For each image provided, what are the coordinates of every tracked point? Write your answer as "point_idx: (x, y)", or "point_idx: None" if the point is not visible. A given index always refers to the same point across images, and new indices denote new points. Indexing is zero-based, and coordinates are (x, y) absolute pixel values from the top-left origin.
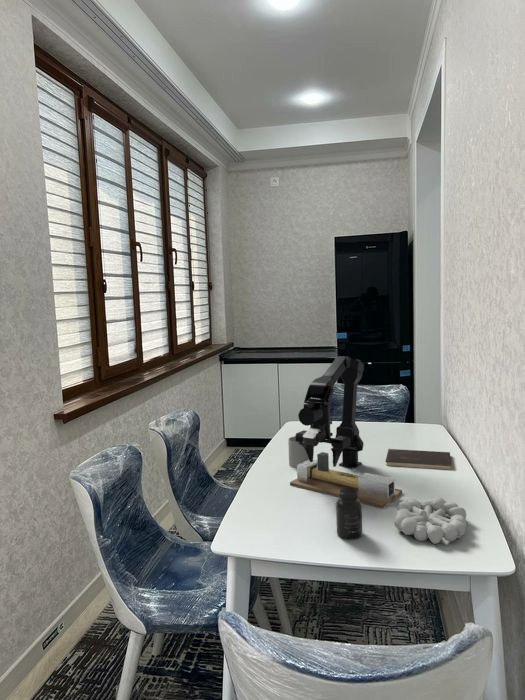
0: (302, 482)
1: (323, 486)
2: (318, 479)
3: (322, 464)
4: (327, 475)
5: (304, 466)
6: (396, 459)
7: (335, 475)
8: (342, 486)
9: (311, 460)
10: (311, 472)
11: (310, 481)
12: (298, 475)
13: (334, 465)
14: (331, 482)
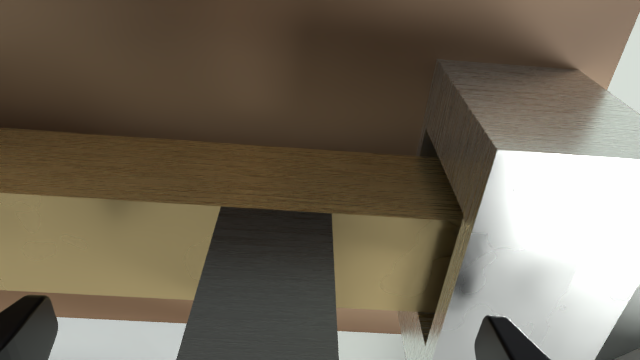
0: (490, 28)
1: (193, 34)
2: None
3: (228, 281)
4: (173, 176)
5: (552, 171)
6: None
7: (29, 182)
8: None
9: (490, 344)
10: (432, 190)
11: (410, 101)
12: (590, 90)
13: (5, 310)
14: None
